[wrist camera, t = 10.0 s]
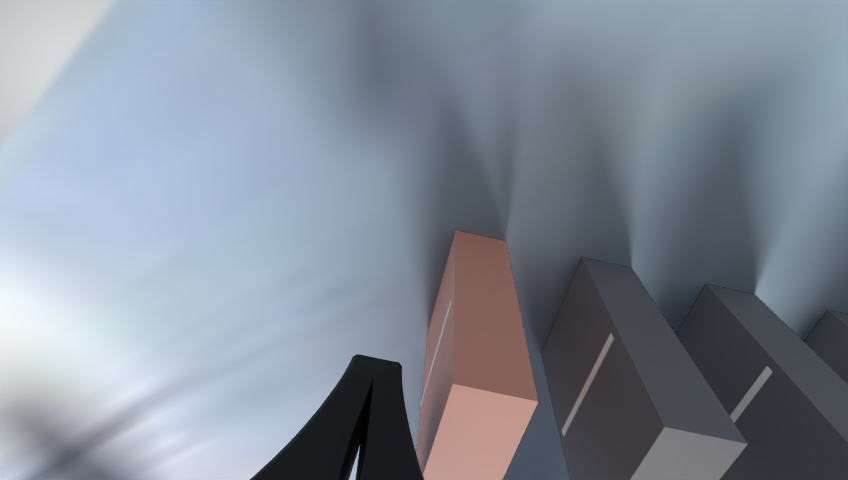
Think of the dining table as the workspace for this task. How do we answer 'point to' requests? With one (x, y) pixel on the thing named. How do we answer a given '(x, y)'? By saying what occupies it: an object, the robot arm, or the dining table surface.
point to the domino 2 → (769, 389)
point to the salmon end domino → (474, 367)
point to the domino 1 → (630, 387)
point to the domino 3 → (831, 342)
